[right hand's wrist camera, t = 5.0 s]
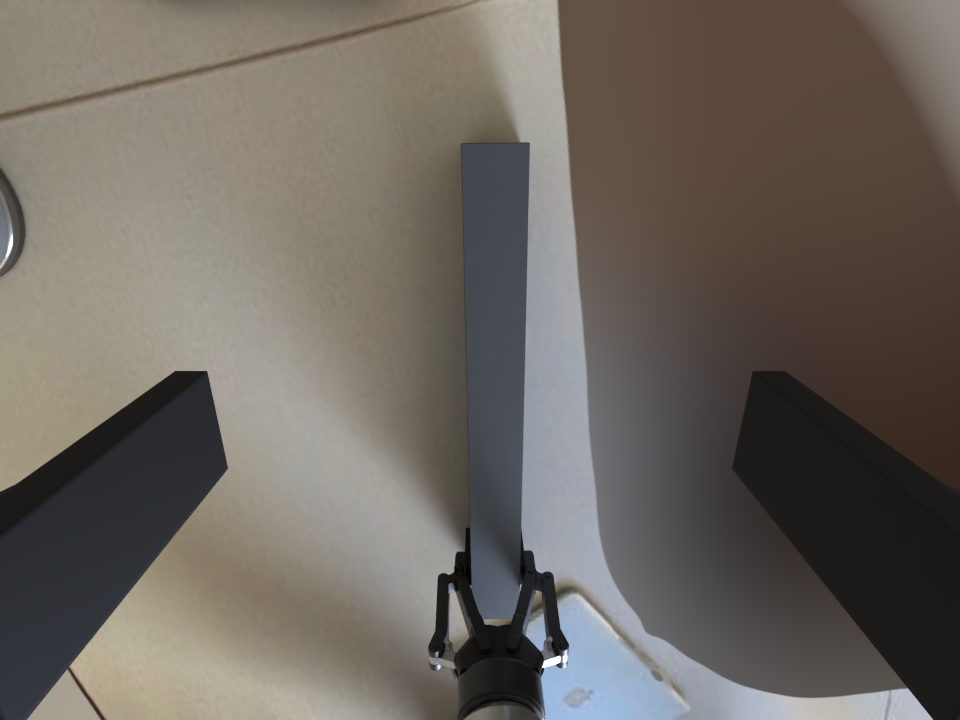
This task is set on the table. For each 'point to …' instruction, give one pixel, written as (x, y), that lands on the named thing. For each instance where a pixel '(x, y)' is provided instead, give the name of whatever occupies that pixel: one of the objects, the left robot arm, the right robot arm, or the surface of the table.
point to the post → (495, 364)
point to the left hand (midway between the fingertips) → (493, 536)
